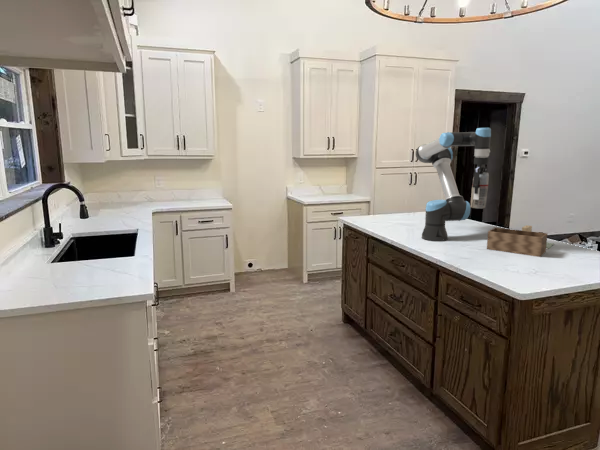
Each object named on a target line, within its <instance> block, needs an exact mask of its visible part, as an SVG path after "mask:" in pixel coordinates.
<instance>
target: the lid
mask: <svg viewBox="0 0 600 450" xmlns="http://www.w3.org/2000/svg"><path fill="white" fill-rule="evenodd" d="M532 230H533V225H529V224H528V225H524V226H522V227H521V231H530V232H533V231H532ZM552 245H553V246H554V245H555V243H553V242H547V244H546V248H549V249H550V248H551V247H553V246H552Z"/></svg>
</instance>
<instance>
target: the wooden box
mask: <svg viewBox="0 0 600 450" xmlns="http://www.w3.org/2000/svg"><path fill="white" fill-rule="evenodd" d="M547 241H548V233H546V232H538V231H531V232H530V231H522V229H521V230H520V229H513V228H511V229H510V228H509V229H508V228H503V227H493V228H492V229H489V230H488V231H487V243H486V250H491V251H497V252H498V251H499V252H503V253H509V254H510V253H511V254H519V255H523V256H531V257H532V256H533V257H539V258H541V257H542V256H543V255H545V253H546V250H547V249H546V244H547Z"/></svg>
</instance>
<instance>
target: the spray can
mask: <svg viewBox="0 0 600 450" xmlns="http://www.w3.org/2000/svg"><path fill="white" fill-rule="evenodd" d="M479 177H480V185H479V188H480V191H479V200H475V199H473V197H474V187H472V186H473V183H472V185H471V195H470V196H471V197H470V208H472V209H481V210H482V209H486V207H487V206H486V205H487V199H488V192H489V178H490V175H489V172H487V173H485V172H483V174H482V175H479ZM473 179H474V176H473V178H472V180H473Z"/></svg>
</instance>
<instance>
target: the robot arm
mask: <svg viewBox="0 0 600 450" xmlns="http://www.w3.org/2000/svg"><path fill="white" fill-rule="evenodd" d="M491 139H492V129H491V127H477V128H476V130H475V131H468V132H467V131H465V132H463V131H462V132H458V131H456V132H449V131H448V132H447V131H446V132H442V133H441V134H440V135H439V138H436V139H435V140H433V141H431V142H429V143H423V144H421V145H420V146H418V147H417V148H416V151H415V157H416V159H417V160H418V161H419V162H421V163H424V164H432V167H433V169H435V170H436V172H437V173H436V174H437V175H438V179H439V182H440V185H441V186H440V187H441V189H442V192H443V195H444V198H445V199H433V200H429V201H428V202H426V205H425V206H426V207H425V218H424V220H425V221H424V222H425V224H424V228H423V230H422V233H421V239H423V240H426V241H432V242H443V241H444V242H445V241H447V240H448V237H449V236H448V235H449V234H448V231H447V228H446V222H455V221H457V222H458V221H459V222H460V221H466V220H468V218H469V216H470V214H471V207H470V206H471V203H470V202H469V201H467V200H465V199H464V196H463V195H460V193H459V190H458V186H457V183H456V180H455V177H454V174H453V171H452V167H451V165H450V164H451V163H452V161H453V158H454V156H453V155H454V152H453V149H452V147H474V153H473V154H474V155H473V157H474V158H473V165H476V167H474V169H473V170H474V172H473V177H474V179H473V178H472V184H473V186H472V185H471V188H472V187H474V197H473V199H475V200H479V191H480V188H479V185H480V177H479V175H482V174H483V172H485V173H488V167H487V166H486V165H489V164H490V157H489V156H490V153H491V150H490V149H491V148H490V147H491Z"/></svg>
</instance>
